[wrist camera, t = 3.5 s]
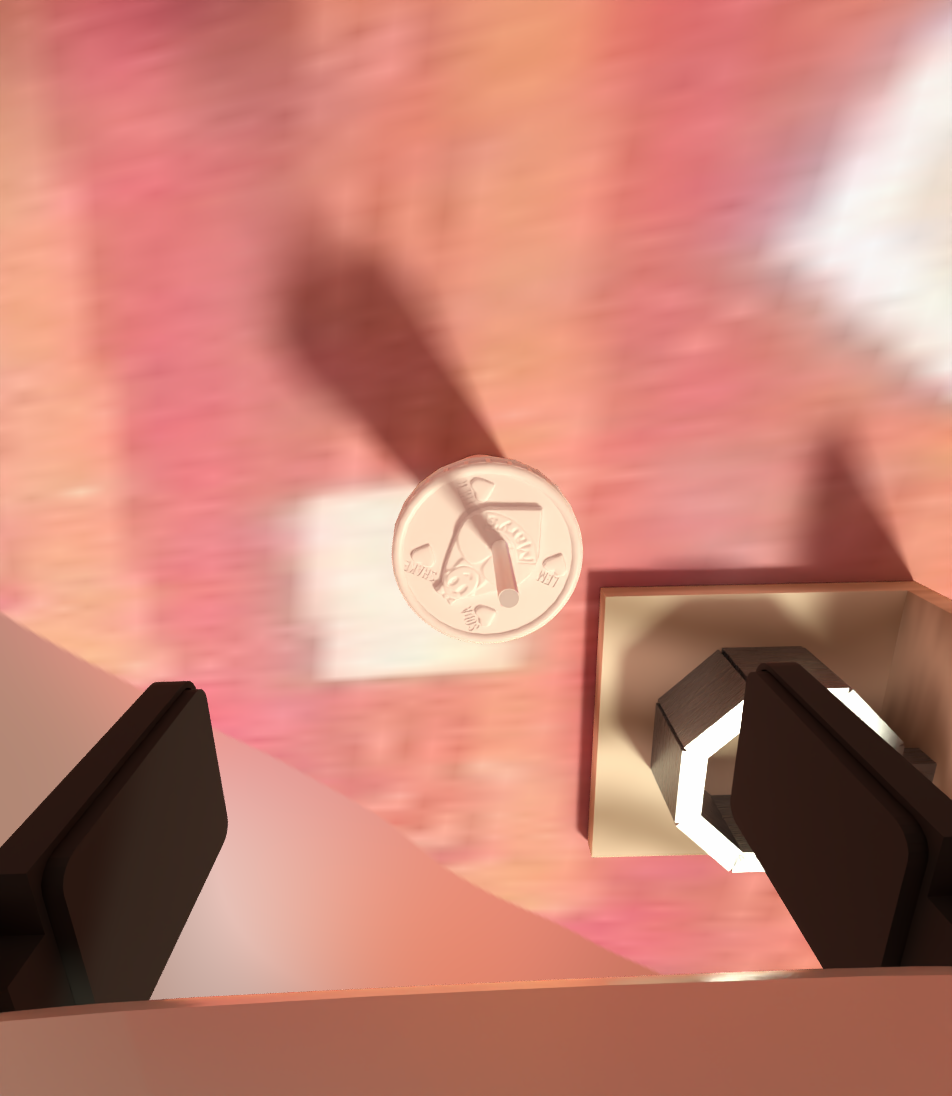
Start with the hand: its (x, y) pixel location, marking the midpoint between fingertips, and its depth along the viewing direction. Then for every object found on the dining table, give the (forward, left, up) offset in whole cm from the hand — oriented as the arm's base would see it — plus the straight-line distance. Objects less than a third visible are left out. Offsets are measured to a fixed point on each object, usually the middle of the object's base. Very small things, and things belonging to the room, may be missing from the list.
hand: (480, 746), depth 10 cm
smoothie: (0, 0, -20) cm, 20 cm away
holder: (+13, +14, -19) cm, 27 cm away
